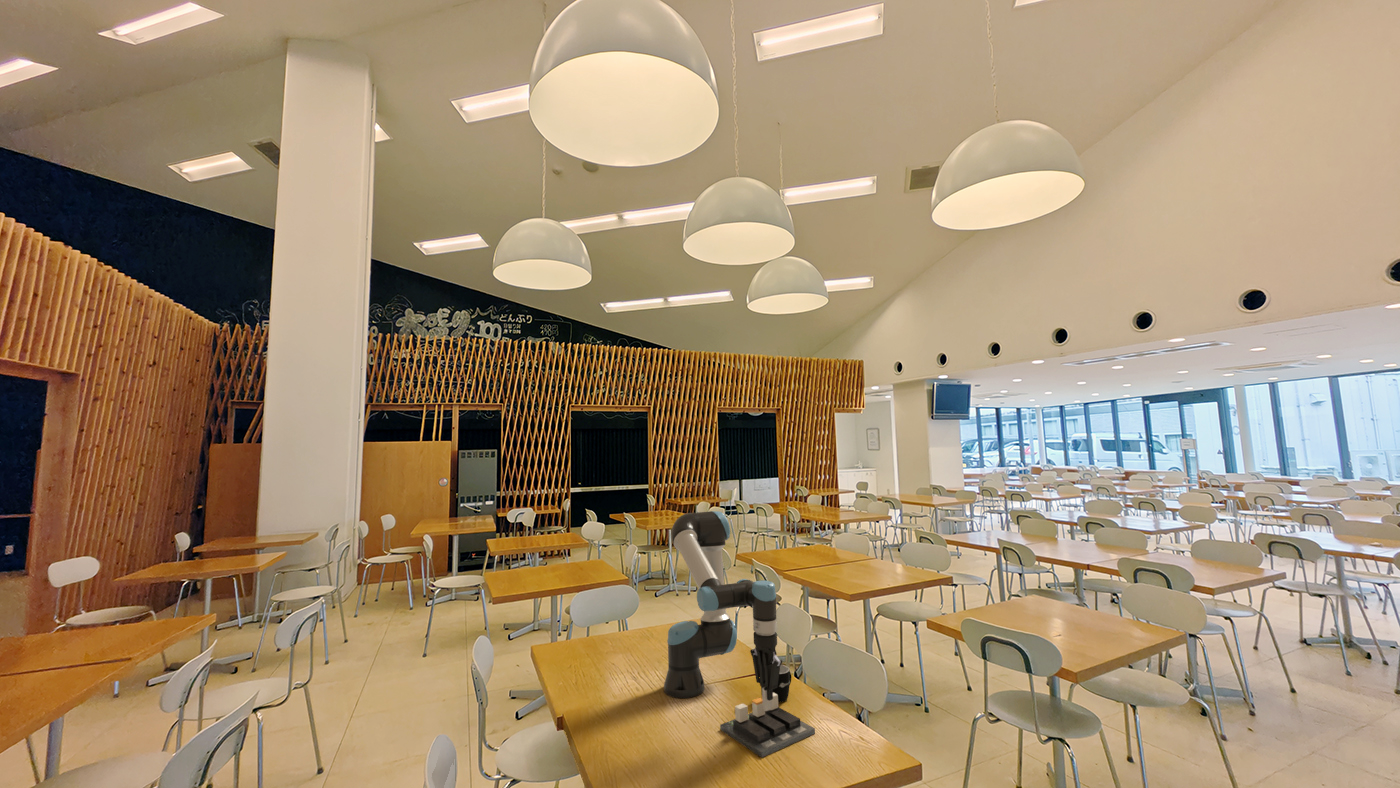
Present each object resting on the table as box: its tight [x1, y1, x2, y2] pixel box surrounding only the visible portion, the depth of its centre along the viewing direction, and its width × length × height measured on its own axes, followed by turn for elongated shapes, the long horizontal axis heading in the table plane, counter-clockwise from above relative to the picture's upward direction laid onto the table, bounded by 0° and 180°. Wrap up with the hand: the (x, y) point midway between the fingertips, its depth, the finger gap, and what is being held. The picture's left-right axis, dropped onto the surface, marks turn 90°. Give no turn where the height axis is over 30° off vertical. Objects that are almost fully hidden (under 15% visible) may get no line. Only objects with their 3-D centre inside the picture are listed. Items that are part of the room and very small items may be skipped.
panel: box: [719, 706, 816, 759], centre depth 168 cm, size 20×22×4 cm
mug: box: [773, 664, 792, 703], centre depth 192 cm, size 12×9×10 cm
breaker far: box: [771, 693, 779, 710], centre depth 176 cm, size 2×3×4 cm
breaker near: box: [734, 703, 749, 722], centre depth 168 cm, size 2×3×4 cm
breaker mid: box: [751, 697, 765, 717], centre depth 171 cm, size 2×3×4 cm
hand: (767, 709), depth 168 cm, fingers closed
